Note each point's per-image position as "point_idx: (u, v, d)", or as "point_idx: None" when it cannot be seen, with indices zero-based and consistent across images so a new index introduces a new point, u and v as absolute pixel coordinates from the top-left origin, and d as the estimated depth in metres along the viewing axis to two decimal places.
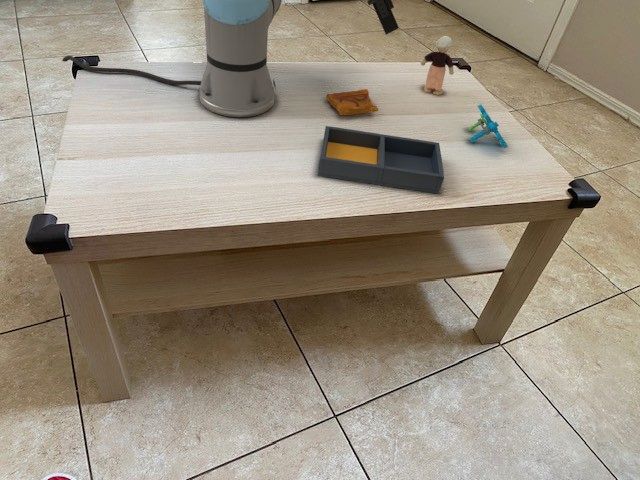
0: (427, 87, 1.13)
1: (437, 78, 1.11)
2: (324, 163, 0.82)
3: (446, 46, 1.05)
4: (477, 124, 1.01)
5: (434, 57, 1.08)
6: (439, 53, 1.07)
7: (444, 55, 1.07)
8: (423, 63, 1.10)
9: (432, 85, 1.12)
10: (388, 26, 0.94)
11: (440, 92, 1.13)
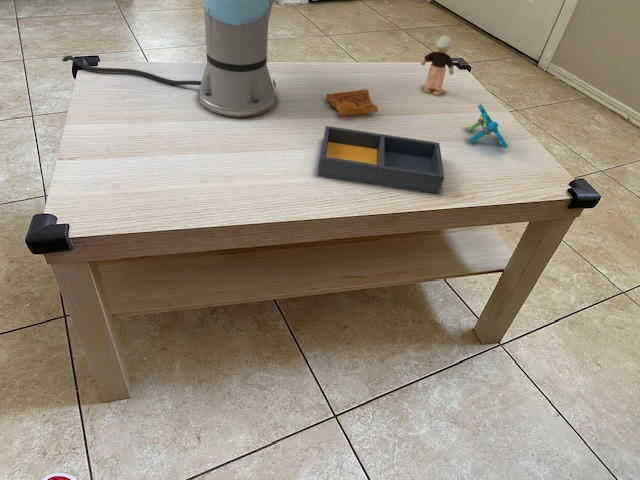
0: (427, 87, 1.13)
1: (437, 78, 1.11)
2: (324, 163, 0.82)
3: (446, 46, 1.05)
4: (477, 124, 1.01)
5: (434, 57, 1.08)
6: (439, 53, 1.07)
7: (444, 55, 1.07)
8: (423, 63, 1.10)
9: (432, 85, 1.12)
10: None
11: (440, 92, 1.13)
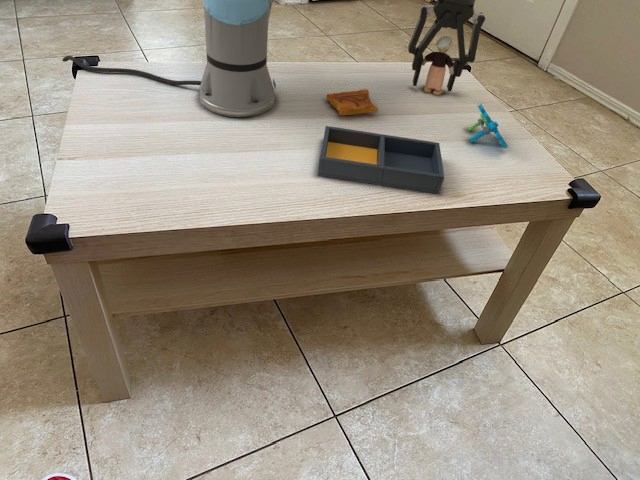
0: (427, 87, 1.13)
1: (437, 78, 1.11)
2: (324, 163, 0.82)
3: (447, 46, 1.05)
4: (477, 124, 1.01)
5: (434, 57, 1.08)
6: (439, 53, 1.07)
7: (444, 55, 1.07)
8: (423, 63, 1.10)
9: (432, 85, 1.12)
10: None
11: (440, 92, 1.13)
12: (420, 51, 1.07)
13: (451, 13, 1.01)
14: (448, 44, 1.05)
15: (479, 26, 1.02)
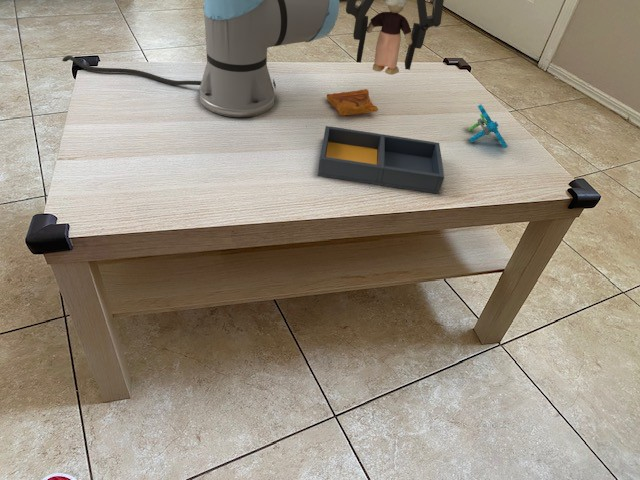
0: (377, 64, 0.80)
1: (389, 51, 0.78)
2: (324, 163, 0.82)
3: (400, 1, 0.72)
4: (477, 124, 1.01)
5: (384, 20, 0.75)
6: (390, 13, 0.75)
7: (397, 16, 0.74)
8: (369, 29, 0.77)
9: (383, 61, 0.79)
10: None
11: (395, 71, 0.80)
12: (362, 10, 0.74)
13: None
14: None
15: None
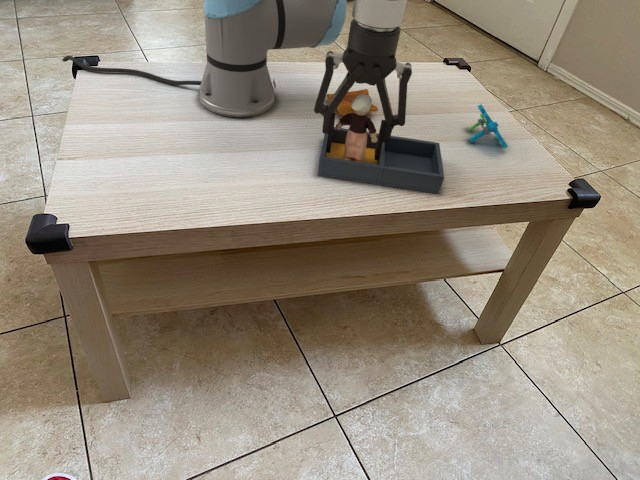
0: (346, 156, 0.87)
1: (357, 146, 0.84)
2: (324, 163, 0.82)
3: (364, 108, 0.79)
4: (477, 124, 1.01)
5: (351, 120, 0.82)
6: (356, 116, 0.81)
7: (363, 118, 0.81)
8: (338, 127, 0.84)
9: (352, 154, 0.86)
10: None
11: (363, 162, 0.87)
12: (329, 111, 0.81)
13: (366, 65, 0.75)
14: (366, 106, 0.79)
15: (405, 81, 0.76)
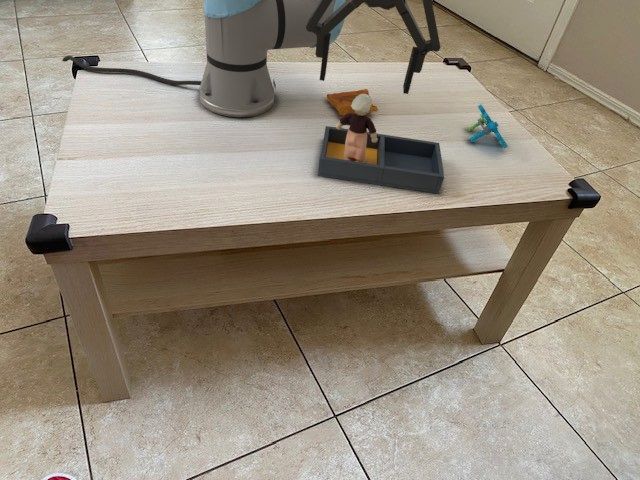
0: (346, 156, 0.87)
1: (357, 146, 0.84)
2: (324, 163, 0.82)
3: (364, 108, 0.79)
4: (477, 124, 1.01)
5: (351, 120, 0.82)
6: (356, 116, 0.81)
7: (363, 118, 0.81)
8: (338, 127, 0.84)
9: (352, 154, 0.86)
10: None
11: (363, 162, 0.87)
12: (325, 29, 0.72)
13: None
14: (366, 106, 0.79)
15: None
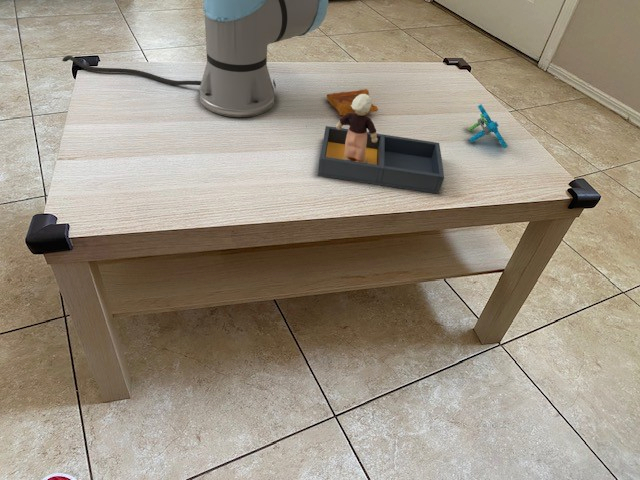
0: (346, 156, 0.87)
1: (357, 146, 0.84)
2: (324, 163, 0.82)
3: (364, 108, 0.79)
4: (477, 124, 1.01)
5: (351, 120, 0.82)
6: (356, 116, 0.81)
7: (363, 118, 0.81)
8: (338, 127, 0.84)
9: (352, 154, 0.86)
10: None
11: (363, 162, 0.87)
12: None
13: None
14: (366, 106, 0.79)
15: None
